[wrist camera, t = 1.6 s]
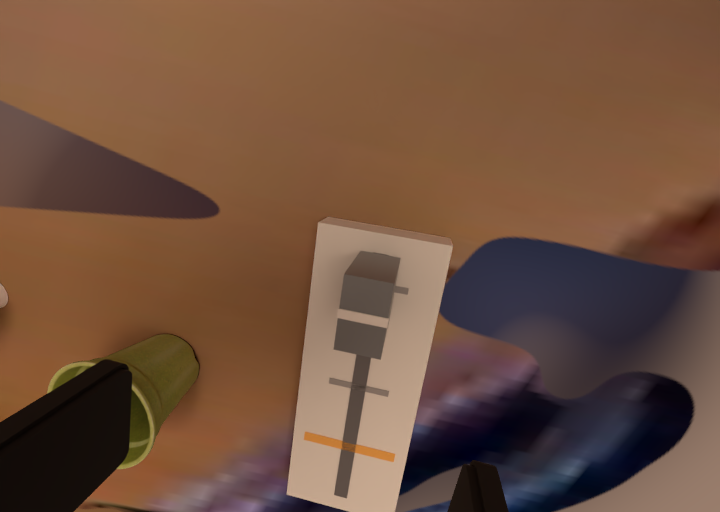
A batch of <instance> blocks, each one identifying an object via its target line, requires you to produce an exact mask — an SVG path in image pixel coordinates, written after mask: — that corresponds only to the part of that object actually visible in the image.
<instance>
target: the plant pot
mask: <svg viewBox="0 0 720 512" xmlns="http://www.w3.org/2000/svg"><path fill="white" fill-rule="evenodd" d="M104 359H109V360H113V361H116V362H120V363H124V364H126V365H127V366H128V367H129V371H131V373H132V395H131V419H130V442H129V451H128V454H127V456H126V458H125V460H124V461H123V462H122V463H121V465H120V466H119V467H118V468H117V469H125V468H129V467H132V466H135V465H137V464H138V463H140V462H141V461H142V460H143V459H144V458H145V457H146V456H147V455H148V454H149V452H150V451H151V449H152V447H153V445H154V442H155V438H156V436H157V434H158V432H159V430H160V427H161V425H162V424H163V422H164V421H165V420H166V418H167V417H168V416H169V414H170V413H171V412H172V410H173V409H174V408H175V407H176V405H177V404H178V403H179V401H180V400H181V399H182V397H183V396H184V395H185V394H186V392H187V391H188V390H189V388H190V387H191V386H192V385H193V383H194V382H195V381H196V379H197V377H198V373H199V364H198V362H197V361H196V359H195V356H194V352H193V349H192V348H191V347H190V346H189V344H187V343H186V342H185V341H184V340H182V339H181V338H179V337H177V336H174V335H170V334H162V335H156V336H153V337H151V338H148V339H146V340H144V341H142V342H139V343H137V344H135V345H132V346H130V347H128V348H125V349H123V350H121V351H118V352H116V353H113V354H111V355H109V356H106V357H104V358H96V359H93V360H90V361H78V362H74V363H71V364H69V365H66V366H64V367H63V368H61V369H60V370H59V371H58V372H57V373H56V374H55V375H54V376H53V378H52V379H51V381H50V384H49V387H48V391H47V394H48V393H49V392H51V391H52V390H54V389H56V388H57V387H59V386H61V385H62V384H64V383H66V382H67V381H69V380H70V379H72V378H74V377H75V376H77V375H79V374H80V373H82V372H84V371H85V370H87V369H88V368H90V367H92V366H93V365H95V364H97V363H98V362H100V361H102V360H104Z"/></svg>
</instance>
